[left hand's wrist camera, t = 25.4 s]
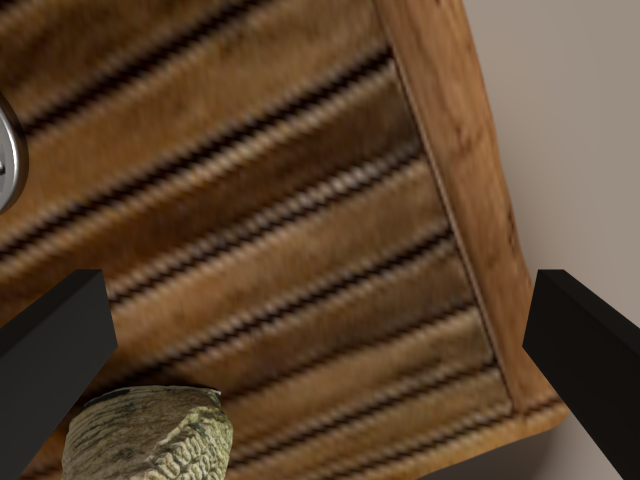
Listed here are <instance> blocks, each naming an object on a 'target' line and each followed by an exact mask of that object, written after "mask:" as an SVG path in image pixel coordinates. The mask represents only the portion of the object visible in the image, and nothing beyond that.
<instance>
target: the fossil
mask: <svg viewBox="0 0 640 480" xmlns="http://www.w3.org/2000/svg"><path fill="white" fill-rule="evenodd" d="M220 393H221V392H219V391H215V390H212V389H208V388H195V387H188V386H168V387H167V386H158V385H153V386H136V387H127V388H121V389H117V390H114V391H112V392H109V393H106V394H104V395H102V396H101V397H98V398H94V399H92V400H91V401H89V402H88V403H86V404H85V405H84V407H83V409H82V410H81V411H80V413H79V414H78V415H76V416H75V417H74V418H73V419H71V422H70V425H69V433H68V434H67V435H66V443H65V448H64V452H63V458H62V466H63V473H62V478H61V480H223V479H224V477H225V472H226V470H227V469H226V467H227V465H228V461H229V456H230V450H231V446H232V439H233V426H232V423H231V421H230V419H229V418H228V417H227V416H226V415H225V414H224V412H223V411H222V409H221V407H220V406H221V403H220Z"/></svg>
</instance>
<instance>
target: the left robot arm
mask: <svg viewBox="0 0 640 480" xmlns="http://www.w3.org/2000/svg"><path fill="white" fill-rule="evenodd" d="M28 169H29V155H28V147H27V142H26V138H25V135H24V132H23V129H22V127H21V124H20V122H19V120H18V118H17V116H16V114H15V112H14V111H13V109H12V107H11V106H10V104H9V103H8V101H7V100H6V98H5V97H4V96H3V95H2V93H1V92H0V215H2V214H3V213H4V212H6V211H7V210H8V209H9V208H11V207H12V206H13V205H14V203H15V202H16V201H17V200H18V198H19V197H20V195H21V193H22V191H23V189H24V187H25V184H26V181H27V176H28ZM117 347H118V345H117V340H116V335H115V330H114V326H113V321H112V316H111V311H110V306H109V301H108V297H107V292H106V287H105V282H104V277H103V272H102V270H75V271H74V272H73V273H71V274H70V275H69V276H67V277H66V278H65V279H64V280H62V281H61V282H60V283H58V284H57V285H56V286H54V287H53V288H52V289H51V290H49V291H48V292H47V293H45V294H44V295H43V296H42V297H40V298H39V299H38V300H36V301H35V302H34V303H33V304H31V305H30V306H29V307H27V308H26V309H25V310H24V311H22V312H21V313H20V314H18V315H17V316H16V317H14V318H13V319H12V320H11V321H9V322H8V323H7V324H5V325H4V326H3V327H2V328H0V480H17V479H18V477H19V476H20V475H21V473H22V472H23V471H24V469H25V468H26V467H27V465H28V464H29V463H30V461H31V460H32V459H33V458H34V456H35V455H36V454H37V452H38V451H39V450H40V448H41V447H42V446H43V444H44V443H45V442H46V440H47V439H48V438H49V437H50V435H51V434H52V433H53V431H54V430H55V429H56V427H57V426H58V425H59V423H60V422H61V421H62V419H63V418H64V417H65V415H66V414H67V413H68V412H69V410H70V409H71V408H72V406H73V405H74V404H75V402H76V401H77V400H78V398H79V397H80V396H81V394H82V393H83V392H84V390H85V389H86V388H87V387H88V385H89V384H90V383H91V381H92V380H93V379H94V377H95V376H96V375H97V373H98V372H99V371H100V369H101V368H102V367H103V366H104V364H105V363H106V362H107V360H108V359H109V358H110V356H111V355H112V354H113V352H114V351H115V350H116V348H117ZM522 347H523V348H524V350H525V351H526V352H527V354H528V355H529V356H530V358H531V359H532V360H533V362H534V363H535V364H536V366H537V367H538V368H539V369H540V371H541V372H542V373H543V375H544V376H545V377H546V379H547V380H548V381H549V383H550V384H551V385H552V387H553V388H554V389H555V390H556V392H557V393H558V394H559V396H560V397H561V398H562V400H563V401H564V402H565V404H566V405H567V406H568V408H569V409H570V410H571V412H572V413H573V414H574V415H575V417H576V418H577V419H578V421H579V422H580V423H581V425H582V426H583V427H584V429H585V430H586V431H587V433H588V434H589V435H590V437H591V438H592V439H593V440H594V442H595V443H596V444H597V446H598V447H599V448H600V450H601V451H602V452H603V454H604V455H605V456H606V457H607V459H608V460H609V461H610V463H611V464H612V465H613V467H614V468H615V469H616V471H617V472H618V473H619V475H620V476H621V477H622V479H623V480H640V328H638V327H637V326H636V325H635V324H633V323H632V322H631V321H629V320H628V319H627V318H625V317H624V316H623V315H622V314H620V313H619V312H618V311H616V310H615V309H614V308H613V307H611V306H610V305H609V304H607V303H606V302H605V301H603V300H602V299H601V298H600V297H598V296H597V295H596V294H595V293H593V292H592V291H591V290H589V289H588V288H587V287H586V286H584V285H583V284H582V283H580V282H579V281H578V280H576V279H575V278H574V277H573V276H571V275H570V274H569V273H567V272H566V271H565V270H538V272H537V277H536V282H535V287H534V292H533V297H532V301H531V306H530V311H529V316H528V321H527V326H526V330H525V335H524V340H523V345H522Z"/></svg>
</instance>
